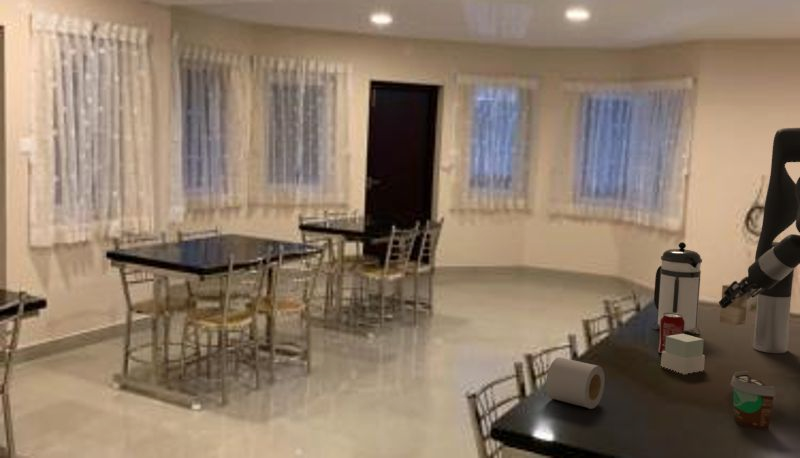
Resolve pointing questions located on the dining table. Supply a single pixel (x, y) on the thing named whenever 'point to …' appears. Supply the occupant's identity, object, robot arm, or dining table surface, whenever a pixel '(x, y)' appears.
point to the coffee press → (678, 285)
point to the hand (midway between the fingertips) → (727, 304)
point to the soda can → (669, 328)
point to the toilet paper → (575, 382)
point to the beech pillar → (734, 310)
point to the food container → (752, 401)
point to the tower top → (684, 345)
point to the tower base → (682, 363)
